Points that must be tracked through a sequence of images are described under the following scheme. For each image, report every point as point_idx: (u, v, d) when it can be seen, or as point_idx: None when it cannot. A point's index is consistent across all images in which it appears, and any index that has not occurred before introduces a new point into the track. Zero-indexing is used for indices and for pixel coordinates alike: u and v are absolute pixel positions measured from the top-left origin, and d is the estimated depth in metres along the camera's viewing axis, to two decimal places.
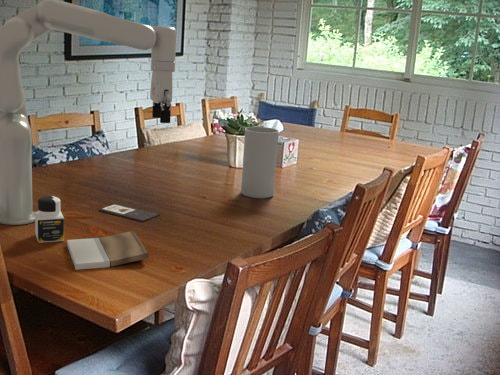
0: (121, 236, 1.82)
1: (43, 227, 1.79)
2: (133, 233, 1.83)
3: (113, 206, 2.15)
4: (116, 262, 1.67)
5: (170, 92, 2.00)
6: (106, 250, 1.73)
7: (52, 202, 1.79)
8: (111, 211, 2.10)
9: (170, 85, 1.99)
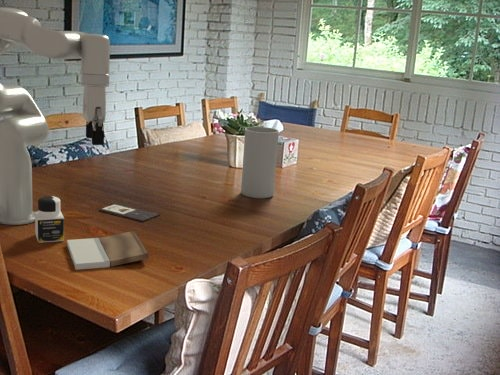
0: (121, 236, 1.82)
1: (43, 227, 1.79)
2: (133, 233, 1.83)
3: (113, 206, 2.15)
4: (116, 262, 1.67)
5: (103, 110, 1.74)
6: (106, 250, 1.73)
7: (52, 202, 1.79)
8: (111, 211, 2.10)
9: (103, 102, 1.74)
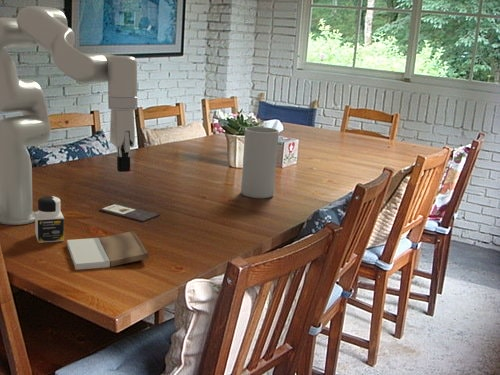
0: (121, 236, 1.82)
1: (43, 227, 1.79)
2: (133, 233, 1.83)
3: (113, 206, 2.15)
4: (116, 262, 1.67)
5: (132, 134, 1.67)
6: (106, 250, 1.73)
7: (52, 202, 1.79)
8: (111, 211, 2.10)
9: (131, 126, 1.67)
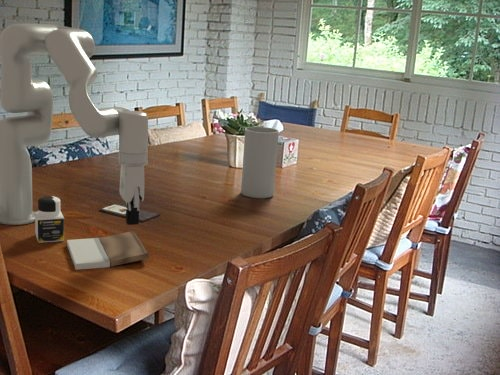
0: (121, 236, 1.82)
1: (43, 227, 1.79)
2: (133, 233, 1.83)
3: (113, 206, 2.15)
4: (116, 262, 1.67)
5: (141, 189, 1.68)
6: (106, 250, 1.73)
7: (52, 202, 1.79)
8: (111, 211, 2.10)
9: (141, 181, 1.68)
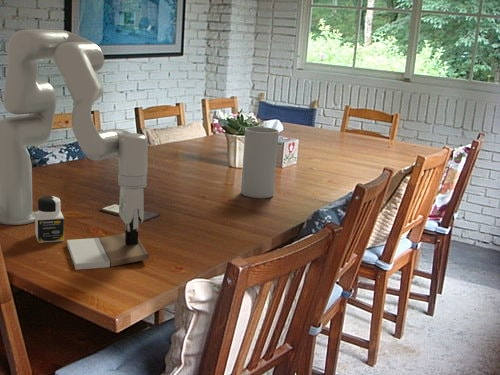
0: (121, 237, 1.82)
1: (43, 227, 1.79)
2: None
3: (114, 206, 2.15)
4: (116, 262, 1.67)
5: (141, 211, 1.70)
6: (106, 250, 1.73)
7: (52, 202, 1.79)
8: (111, 211, 2.10)
9: (141, 203, 1.69)
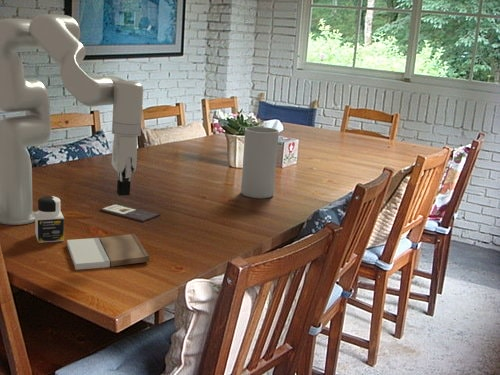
0: (122, 238, 1.82)
1: (43, 227, 1.79)
2: (134, 236, 1.84)
3: (114, 206, 2.15)
4: (116, 262, 1.67)
5: (134, 160, 1.68)
6: (107, 250, 1.73)
7: (52, 202, 1.79)
8: (111, 211, 2.10)
9: (134, 152, 1.67)
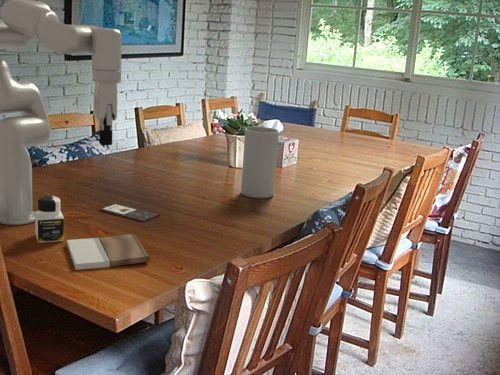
0: (122, 238, 1.82)
1: (43, 227, 1.79)
2: (134, 236, 1.84)
3: (114, 206, 2.15)
4: (116, 262, 1.67)
5: (114, 107, 1.67)
6: (107, 250, 1.73)
7: (52, 202, 1.79)
8: (112, 211, 2.10)
9: (114, 99, 1.67)
